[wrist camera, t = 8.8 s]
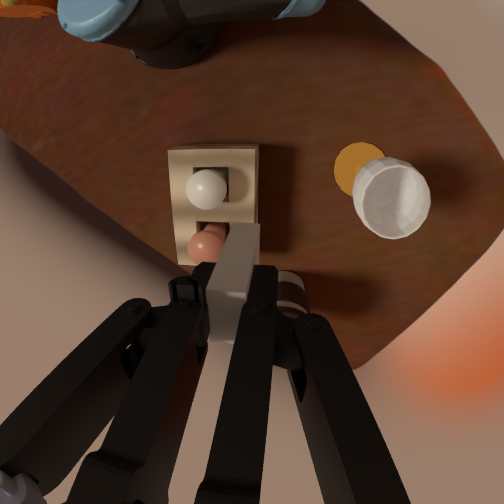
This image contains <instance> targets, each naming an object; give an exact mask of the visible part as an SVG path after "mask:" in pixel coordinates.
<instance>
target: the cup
mask: <svg viewBox="0 0 504 504" xmlns="http://www.w3.org/2000/svg"><path fill="white" fill-rule="evenodd" d="M334 174H335V179H336V182H337V183H338V185H339V186H340V188H341V189H342V191H344V192H345V193H347V194H348V195H350V196H351V197H353V200H354V207H355V209H356V212H357V214H358V215H359V217H360V219H361V220H362V222H363V223H364V225H365V226H366V227H368V228H369V229H370V230H371V231H373V232H374V233H376V234H377V235H379V236H380V237H383V238H389V239H398V238H403V237H407V236H408V235H410V234H411V233H413V232H414V231H416V230H417V229H419V227H420V226H421V225H422V223H423V222H424V221H425V219H426V218H427V215H428V212H429V208H430V205H431V200H430V189H429V187H428V185H427V183H426V181H425V178H424V177H423V176H422V175H421V174H420V172H419V171H417V170H416V169H415V168H414V167H413V166H412V165H410V164H409V163H408V162H405V161H401V160H398V159H394V158H390V157H385V155H384V154H383V152H382V151H381V150H380V149H378V148H377V147H376V146H374V145H373V144H369V143H365V142H359V143H353V144H350V145H349V146H347V147H346V148H344V149H343V150H342V151H341V152H340V154H339V155H338V157H337V158H336V161H335V167H334Z"/></svg>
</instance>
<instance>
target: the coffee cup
mask: <svg viewBox="0 0 504 504" xmlns="http://www.w3.org/2000/svg"><path fill="white" fill-rule="evenodd" d="M277 308H278V309H279V311H280V312H281V313H282V314H284V315H285V316H288V317H290V318H294V319H296V318H297V317H298V316H300V315H301V314H305V313H310V308H309V303H308V298H307V295H306V293H305V289H304V284H303V282H302V280H301V278H300V277H299V276H298V275H296V274H294V273H292V272H289V271H279V275H278V293H277Z"/></svg>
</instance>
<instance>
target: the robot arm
mask: <svg viewBox="0 0 504 504" xmlns="http://www.w3.org/2000/svg"><path fill="white" fill-rule="evenodd" d="M325 2H326V0H58V8H57V12H58V18H59V21H60V24H61V26H62V27H63V28H64V30H66V31H67V32H68V33H70V34H71V35H74V36H76V37H79V38H82V39H83V40H85V41H90V42H92V41H93V42H95V41H96V42H101V43H106V44H110V45H115V46H119V47H123V48H127V49H129V50H130V52H131V53H132V55H133V56H134V57H135V58H136V59H137V60H138V61H140V62H141V63H143V64H145V65H147V66H150V67H154V68H159V69H177V68H181V67H185V66H188V65H190V64H192V63H194V62H196V61H197V60H199V59H200V58H202V57H203V56H204V55H206V54H207V53H208V52H209V51H210V50H211V49H212V47H213V46H214V45H215V43H216V42H217V40H218V38H219V36H220V33H221V30H222V26H223V22H225V21H234V20H244V19H257V18H271V19H274V20H278V19H281V18H283V17H306V16H310V15H312V14H314V13H316V12H318V11H319V10H320V9H321V8H322V7H323V5H324V4H325ZM259 245H260V224H256V223H238V222H234V223H233V225H232V227H231V230H230V232H229V234H228V237H227V239H226V241H225V244H224V246H223V249H222V251H221V253H220V256H219V258H218V261H217V263H216V262H201V263H200V264H198V265H197V266H196V267H195V269H194V271H193V273H192V275H191V276H181V277H177V278H175V279H173V280H171V281H170V282H169V283H168V286H169V292H170V298H171V301H170V303H169V305H166V306H159V307H151V304H150V302H149V301H148V300H146V299H142V298H133V299H131V300H128V301H126V302H125V303H123V304H122V305H121V306H120V307H119V308H118V309H117V310H115V311H114V312H113V313H112V314H111V315H110V316H109V317H108V318H107V319H106V320H105V321H104V322H103V323H101V324H100V325H99V326H98V327H97V328H96V329H95V330H94V331H93V332H92V333H91V334H90V335H89V336H88V337H86V338H85V339H84V340H83V342H81V343H80V344H79V345H78V346H77V347H76V348H75V349H74V350H73V351H72V352H71V353H70V354H69V355H68V356H67V357H66V358H65V359H64V360H63V361H62V362H61V363H60V364H59V365H58V366H57V367H56V368H55V369H54V370H53V371H52V372H51V373H50V374H49V375H48V376H47V377H46V378H45V379H44V380H43V381H42V382H41V383H40V384H39V385H38V386H37V387H36V388H35V389H34V390H33V391H32V392H31V393H30V394H29V395H28V396H27V397H26V398H25V399H24V400H23V401H22V402H21V404H20V405H19V406H18V407H17V408H16V409H15V410H14V411H13V412H12V413H11V414H10V415H9V416H8V417H7V419H6V420H5V421H4V422H3V423H2V424H1V425H0V504H47V502H46V500H45V499H44V498H43V496H45V495H47V494H48V493H50V492H51V491H52V490H53V489H55V488H56V487H57V486H58V485H59V484H60V483H61V482H62V481H63V480H64V479H65V477H66V476H67V475H68V474H69V472H70V471H71V470H72V469H73V467H74V466H75V465H76V463H77V462H78V461H79V460H80V458H81V457H82V456H83V455H84V453H85V452H86V451H87V449H88V448H89V447H90V446H91V444H92V443H93V442H94V441H95V439H96V438H97V437H98V436H99V434H100V433H101V432H102V431H103V429H104V428H105V427H106V425H107V424H108V423H109V422H110V420H111V419H112V418H113V416H114V415H115V416H114V418H113V421H112V423H111V425H110V427H109V430H108V432H107V434H106V437H105V439H104V441H103V444H102V446H101V447H100V449H99V450H98V451H95V452H91V453H89V454H88V455H86V457H85V458H84V460H83V462H82V464H81V466H80V469H79V471H78V474H77V476H76V478H75V481H74V483H73V486H72V488H71V491H70V494H69V496H68V498H67V501H66V502H64V503H62V504H168V501H169V499H168V488H169V484H170V481H171V477H172V473H173V470H174V466H175V462H176V459H177V455H178V452H179V448H180V444H181V441H182V438H183V434H184V430H185V427H186V423H187V420H188V416H189V413H190V409H191V406H192V402H193V399H194V396H195V392H196V389H197V385H198V382H199V378H200V375H201V371H202V368H203V365H204V361H205V358H206V355H207V351H208V343H207V340H208V337H209V333H210V341H214V342H222V343H232V344H234V346H233V351H232V355H231V360H230V364H229V369H228V373H227V379H226V382H225V387H224V391H223V396H222V401H221V405H220V410H219V415H218V419H217V423H216V428H215V433H214V437H213V441H212V446H211V450H210V455H209V460H208V464H207V468H206V473H205V477H204V479H203V481H202V482H201V484H200V486H199V488H198V490H197V494H196V498H195V502H194V504H259V501H260V491H261V480H262V471H263V463H264V454H265V453H264V452H265V444H266V434H267V424H268V413H269V401H270V391H271V379H272V367H273V365H276V366H279V367H281V368H284V369H287V373H288V377H289V380H290V384H291V387H292V391H293V394H294V398H295V401H296V405H297V408H298V411H299V415H300V419H301V422H302V426H303V429H304V433H305V436H306V440H307V443H308V447H309V450H310V454H311V457H312V461H313V464H314V468H315V472H316V475H317V479H318V482H319V486H320V489H321V493H322V496H323V500H324V503H325V504H411V503H410V500H409V498H408V496H407V493H406V490H405V488H404V486H403V483H402V481H401V478H400V476H399V473H398V471H397V469H396V466H395V464H394V462H393V459H392V457H391V455H390V452H389V450H388V448H387V445H386V443H385V441H384V439H383V436H382V434H381V432H380V429H379V428H378V425H377V423H376V421H375V418H374V416H373V414H372V412H371V409H370V407H369V405H368V403H367V401H366V399H365V397H364V394H363V392H362V390H361V388H360V386H359V384H358V381H357V379H356V377H355V375H354V373H353V371H352V369H351V367H350V364H349V362H348V360H347V358H346V356H345V354H344V352H343V350H342V348H341V346H340V344H339V342H338V340H337V338H336V336H335V334H334V332H333V330H332V328H331V325H330V323H329V322H328V321H327V319H326V318H324V317H323V316H321V315H318V314H315V313H305V314H301V315H300V316H298V317H297V318H296V319H294V318H290V317H288V316H285V315H284V314H282V313H281V312H280V311H279V309H278V308H277V293H278V275H279V272H278V270H277V269H276V267H275V266H269V265H259ZM128 345H130V346H129V347H128V348H127V346H128ZM126 348H127V349H126Z"/></svg>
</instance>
